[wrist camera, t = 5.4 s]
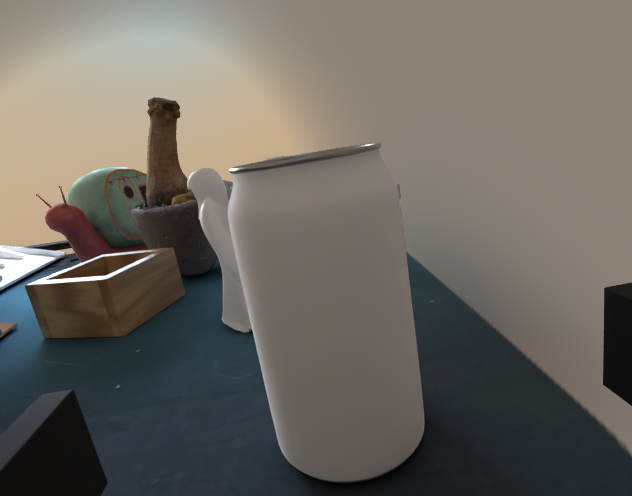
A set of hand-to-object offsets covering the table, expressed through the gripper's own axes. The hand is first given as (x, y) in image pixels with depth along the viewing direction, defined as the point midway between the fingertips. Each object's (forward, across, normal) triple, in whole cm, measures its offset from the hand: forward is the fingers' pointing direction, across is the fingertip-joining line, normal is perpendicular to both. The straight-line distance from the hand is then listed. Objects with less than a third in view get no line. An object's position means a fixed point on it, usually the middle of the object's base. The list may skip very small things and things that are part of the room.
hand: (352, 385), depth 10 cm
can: (+6, 0, -7) cm, 9 cm away
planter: (+40, -14, -6) cm, 43 cm away
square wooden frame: (+28, -19, -6) cm, 34 cm away
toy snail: (+54, -26, -6) cm, 60 cm away
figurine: (+21, -4, -7) cm, 22 cm away
